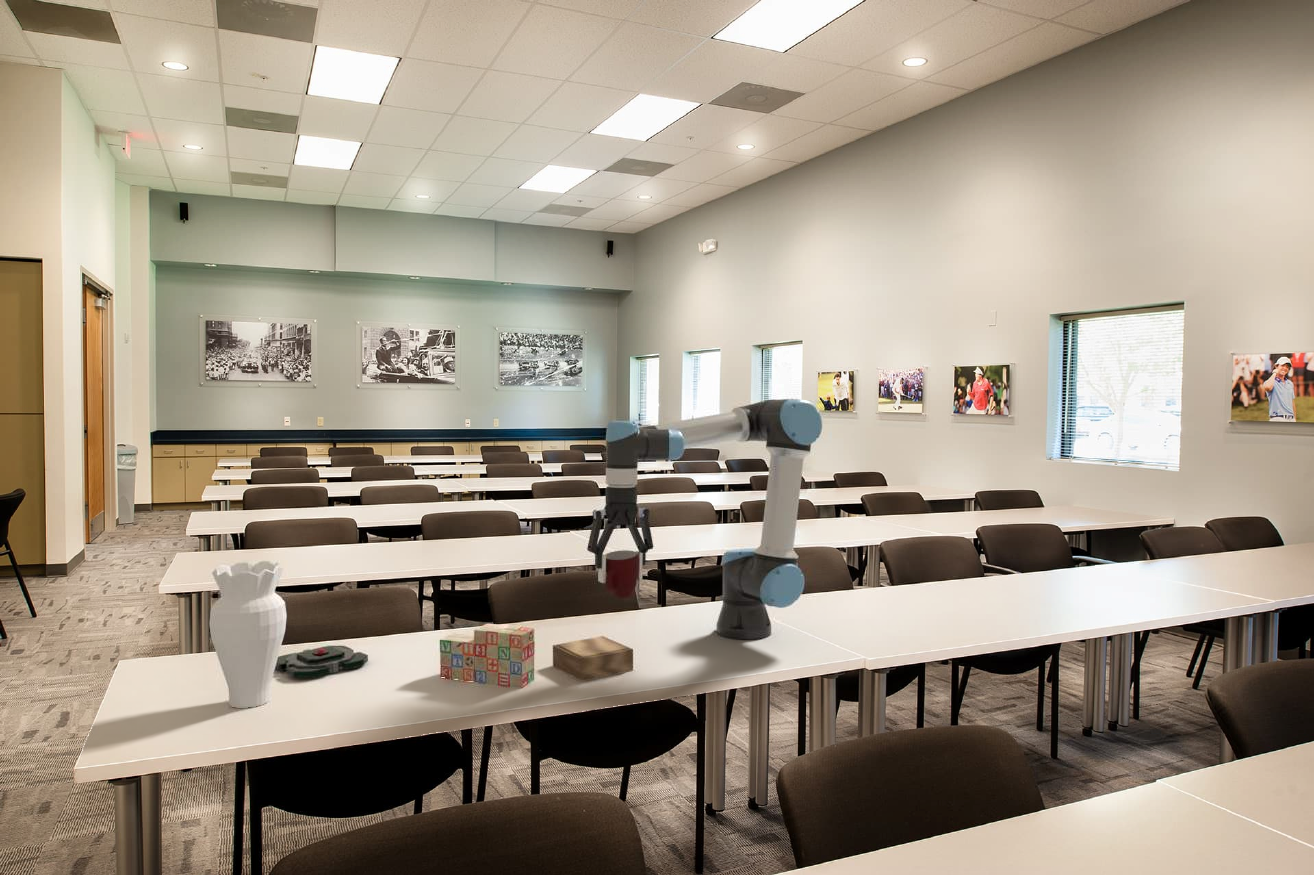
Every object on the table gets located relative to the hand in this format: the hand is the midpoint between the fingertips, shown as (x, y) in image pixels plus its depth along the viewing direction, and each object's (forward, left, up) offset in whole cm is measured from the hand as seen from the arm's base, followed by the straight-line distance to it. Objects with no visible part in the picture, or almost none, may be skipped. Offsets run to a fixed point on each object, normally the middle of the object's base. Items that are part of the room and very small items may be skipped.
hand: (620, 580), depth 201 cm
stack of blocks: (+31, -6, -22) cm, 38 cm away
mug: (0, 0, -4) cm, 4 cm away
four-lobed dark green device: (+65, -32, -22) cm, 76 cm away
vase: (+80, -12, -21) cm, 84 cm away
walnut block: (+6, -3, -21) cm, 22 cm away
